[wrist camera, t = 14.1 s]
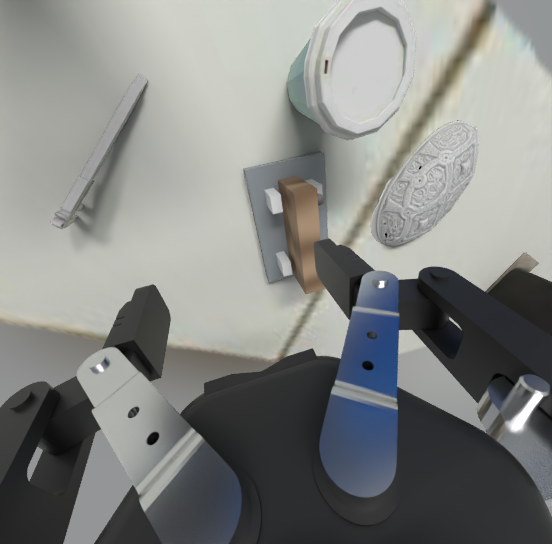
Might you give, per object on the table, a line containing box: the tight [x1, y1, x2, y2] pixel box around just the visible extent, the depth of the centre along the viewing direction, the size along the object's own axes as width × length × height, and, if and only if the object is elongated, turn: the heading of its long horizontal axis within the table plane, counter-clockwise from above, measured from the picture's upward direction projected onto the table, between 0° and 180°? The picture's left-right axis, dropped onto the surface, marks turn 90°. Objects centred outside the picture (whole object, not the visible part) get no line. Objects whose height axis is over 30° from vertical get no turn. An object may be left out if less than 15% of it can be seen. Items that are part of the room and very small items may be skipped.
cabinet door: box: [278, 176, 324, 294], centre depth 38 cm, size 16×4×8 cm, turn 9°
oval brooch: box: [370, 120, 479, 246], centre depth 44 cm, size 16×25×7 cm, turn 150°
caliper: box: [50, 74, 148, 229], centre depth 29 cm, size 20×1×6 cm, turn 140°
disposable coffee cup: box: [287, 0, 417, 140], centre depth 27 cm, size 11×11×15 cm
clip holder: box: [244, 152, 328, 283], centre depth 40 cm, size 20×12×6 cm, turn 9°
